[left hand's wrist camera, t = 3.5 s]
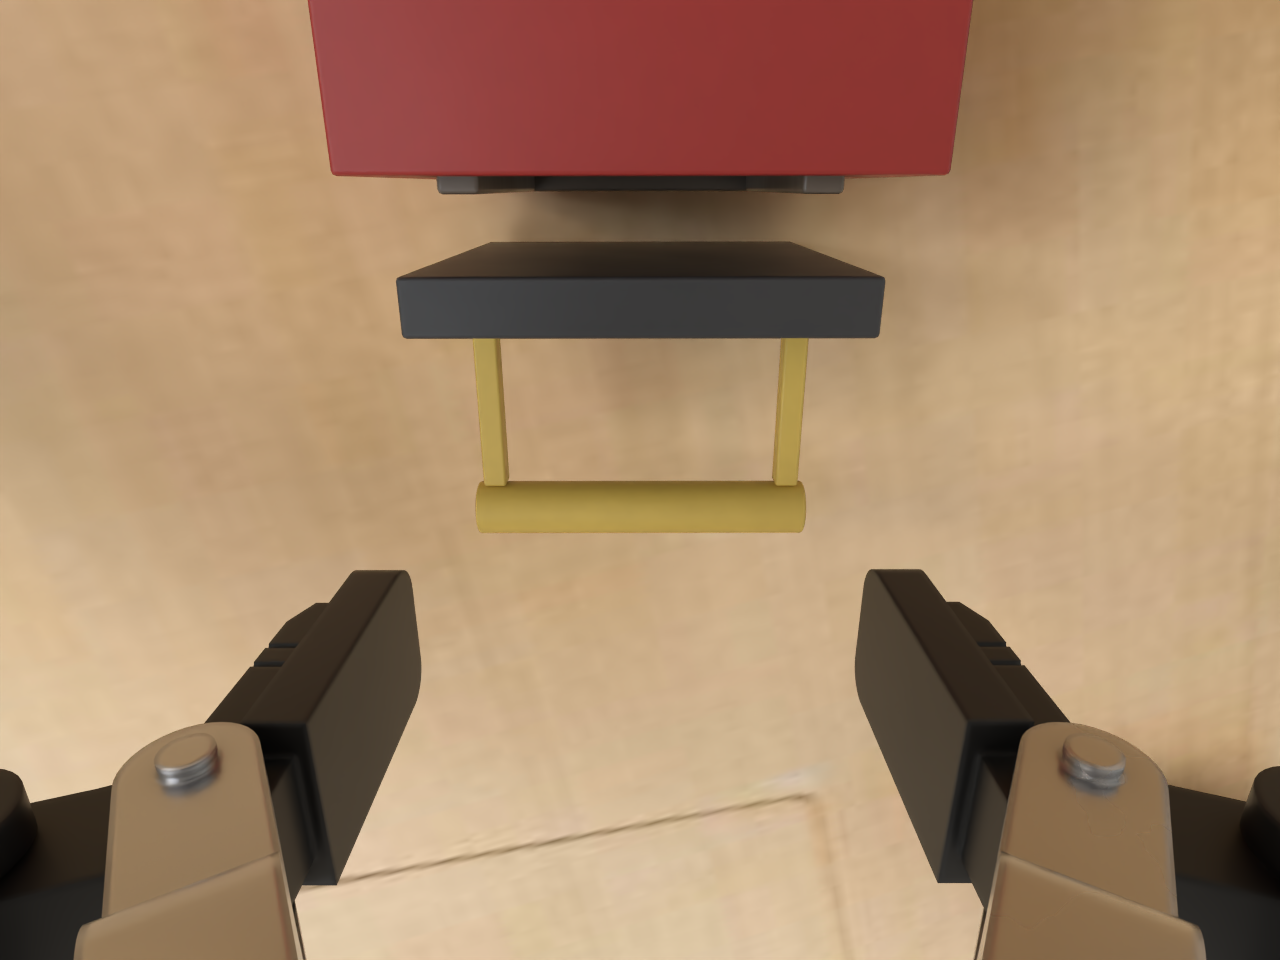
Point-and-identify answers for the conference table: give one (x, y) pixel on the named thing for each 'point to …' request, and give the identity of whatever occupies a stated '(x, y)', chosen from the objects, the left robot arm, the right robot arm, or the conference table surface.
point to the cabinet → (640, 87)
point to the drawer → (640, 308)
